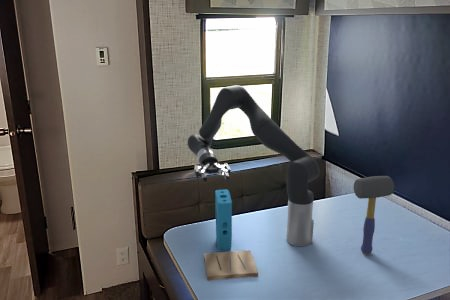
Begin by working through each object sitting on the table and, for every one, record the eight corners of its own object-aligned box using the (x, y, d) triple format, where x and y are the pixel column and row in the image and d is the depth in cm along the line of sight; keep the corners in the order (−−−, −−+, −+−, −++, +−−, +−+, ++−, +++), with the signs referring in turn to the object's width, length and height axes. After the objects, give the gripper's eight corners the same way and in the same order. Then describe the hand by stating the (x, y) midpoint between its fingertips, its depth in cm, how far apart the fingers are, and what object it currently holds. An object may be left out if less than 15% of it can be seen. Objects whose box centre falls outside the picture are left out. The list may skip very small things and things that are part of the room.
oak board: (250, 253, 159) (250, 250, 159) (258, 276, 146) (258, 272, 146) (204, 257, 157) (204, 253, 157) (207, 280, 144) (207, 276, 144)
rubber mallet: (375, 245, 164) (384, 171, 155) (387, 256, 157) (397, 179, 148) (345, 250, 162) (352, 174, 152) (356, 261, 155) (364, 182, 145)
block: (232, 252, 160) (232, 202, 154) (218, 253, 160) (218, 203, 153) (228, 235, 172) (228, 189, 165) (215, 236, 171) (215, 190, 165)
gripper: (191, 152, 180) (199, 171, 166) (224, 151, 183) (235, 169, 169) (190, 168, 183) (198, 188, 169) (223, 166, 187) (233, 186, 173)
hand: (216, 179), depth 169 cm, fingers open, 8 cm apart
